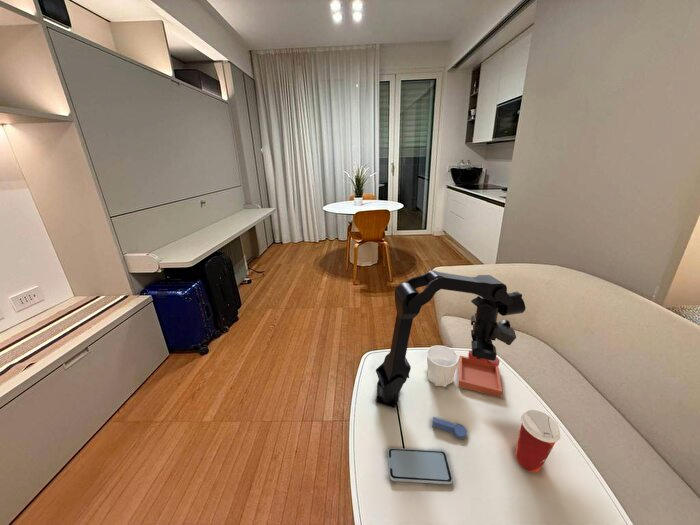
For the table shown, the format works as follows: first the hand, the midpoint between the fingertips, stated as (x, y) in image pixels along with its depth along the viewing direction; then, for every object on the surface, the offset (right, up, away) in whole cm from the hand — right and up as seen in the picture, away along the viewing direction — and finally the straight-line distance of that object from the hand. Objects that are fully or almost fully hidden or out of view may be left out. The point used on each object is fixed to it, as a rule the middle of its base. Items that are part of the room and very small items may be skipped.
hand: (478, 356), depth 86 cm
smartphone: (-24, -21, -19) cm, 38 cm away
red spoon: (+2, -1, 0) cm, 2 cm away
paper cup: (+4, -20, -19) cm, 27 cm away
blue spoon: (-14, -17, -11) cm, 24 cm away
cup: (-10, -10, +7) cm, 16 cm away
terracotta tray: (+3, -9, +6) cm, 11 cm away
